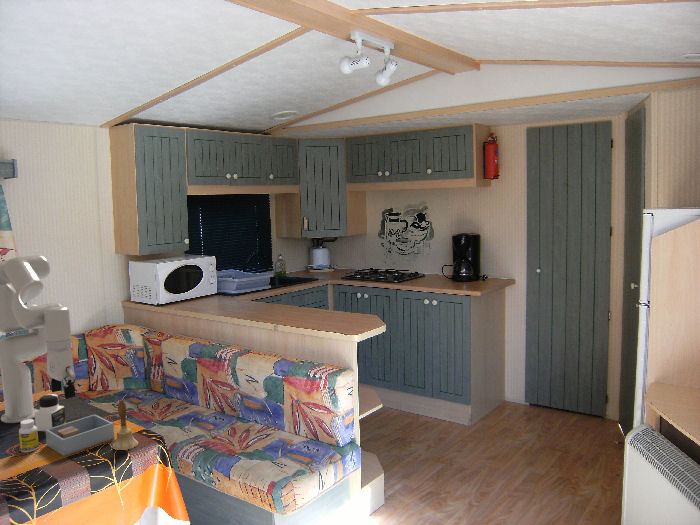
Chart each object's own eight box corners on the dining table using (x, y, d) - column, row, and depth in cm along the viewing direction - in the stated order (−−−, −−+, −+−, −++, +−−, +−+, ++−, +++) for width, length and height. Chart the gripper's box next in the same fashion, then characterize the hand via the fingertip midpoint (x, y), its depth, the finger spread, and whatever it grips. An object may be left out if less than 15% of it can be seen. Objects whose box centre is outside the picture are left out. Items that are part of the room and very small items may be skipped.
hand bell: (112, 453, 194) (109, 406, 192) (111, 443, 202) (108, 398, 200) (139, 448, 198) (136, 402, 195) (137, 438, 205) (134, 394, 203)
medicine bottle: (53, 432, 212) (50, 400, 210) (35, 431, 213) (32, 398, 212) (66, 424, 219) (63, 393, 217) (49, 423, 220) (46, 392, 219)
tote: (46, 445, 201) (45, 429, 200) (95, 428, 214) (94, 414, 213) (64, 456, 193) (62, 440, 192) (114, 438, 205) (113, 423, 205)
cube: (58, 445, 200) (57, 430, 199) (73, 440, 204) (72, 426, 203) (65, 449, 197) (63, 434, 196) (79, 443, 200) (78, 429, 200)
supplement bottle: (20, 454, 195) (17, 425, 193) (20, 448, 199) (18, 420, 198) (38, 450, 197) (36, 422, 196) (38, 444, 202) (36, 416, 201)
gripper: (36, 342, 198) (40, 391, 201) (59, 351, 187) (63, 403, 189) (58, 338, 204) (62, 385, 206) (82, 346, 193) (86, 396, 195)
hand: (63, 394), depth 198 cm, fingers open, 9 cm apart
